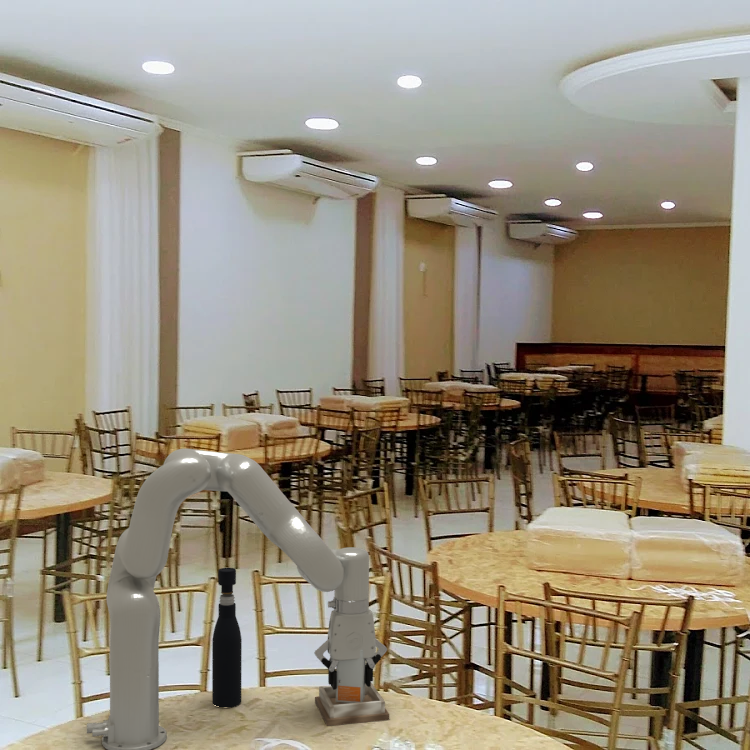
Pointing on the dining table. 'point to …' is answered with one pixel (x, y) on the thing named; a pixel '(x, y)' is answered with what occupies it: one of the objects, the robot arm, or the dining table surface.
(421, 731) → the dining table surface
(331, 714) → the square brown tray
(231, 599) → the black water bottle
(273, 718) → the dining table surface
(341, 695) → the skincare box
